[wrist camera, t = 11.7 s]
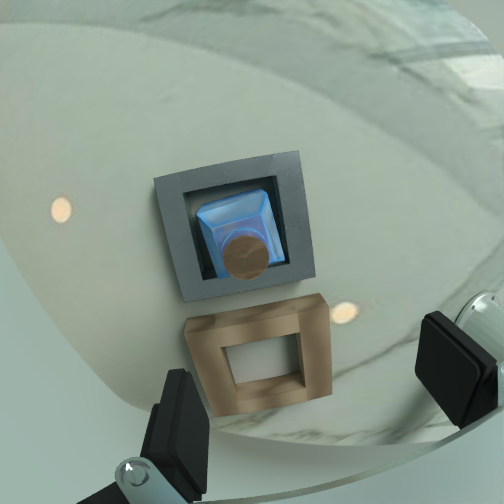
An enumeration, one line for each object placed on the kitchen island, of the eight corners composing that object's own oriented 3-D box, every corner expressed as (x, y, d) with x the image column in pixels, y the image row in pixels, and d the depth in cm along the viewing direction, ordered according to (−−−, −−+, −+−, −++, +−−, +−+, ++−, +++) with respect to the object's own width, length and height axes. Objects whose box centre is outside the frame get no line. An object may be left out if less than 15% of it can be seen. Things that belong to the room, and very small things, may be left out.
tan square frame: (319, 292, 35) (328, 305, 31) (325, 378, 39) (332, 394, 36) (187, 318, 34) (183, 334, 31) (214, 400, 38) (214, 417, 35)
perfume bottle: (219, 258, 33) (217, 309, 21) (202, 204, 31) (187, 228, 19) (274, 242, 33) (300, 285, 21) (259, 187, 31) (278, 201, 19)
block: (291, 151, 30) (298, 150, 27) (308, 267, 34) (315, 276, 31) (160, 177, 29) (153, 178, 27) (187, 290, 33) (184, 302, 30)
